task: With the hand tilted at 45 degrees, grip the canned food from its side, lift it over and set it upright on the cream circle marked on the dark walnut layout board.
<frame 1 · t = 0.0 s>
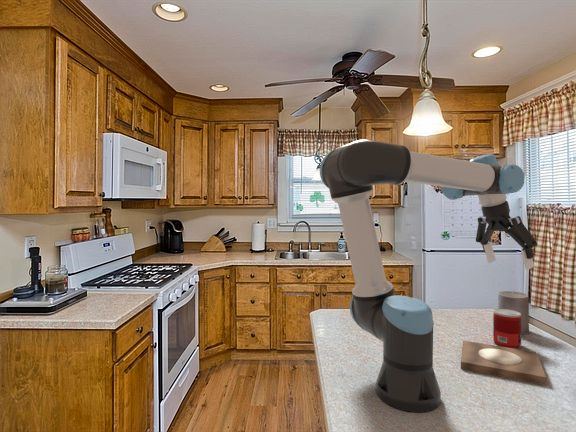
hand: (509, 264, 112), 28 cm above the countertop, tool tilted 20°, fingers open, 13 cm apart
pillar candle: (513, 330, 130), on the countertop
canned food: (506, 344, 117), on the countertop
layout board: (499, 363, 103), on the countertop
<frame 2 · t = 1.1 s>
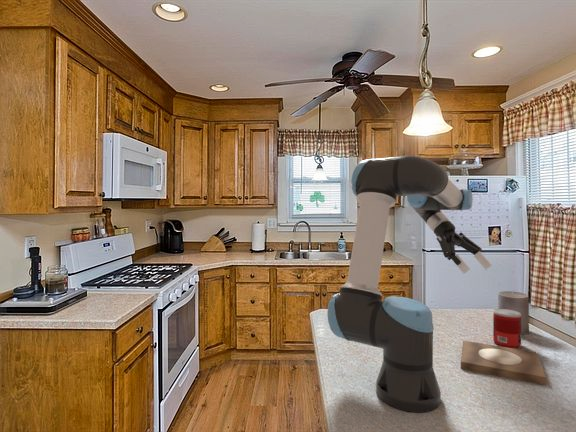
hand: (478, 269, 125), 24 cm above the countertop, tool tilted 45°, fingers open, 13 cm apart
nothing on the countertop moved.
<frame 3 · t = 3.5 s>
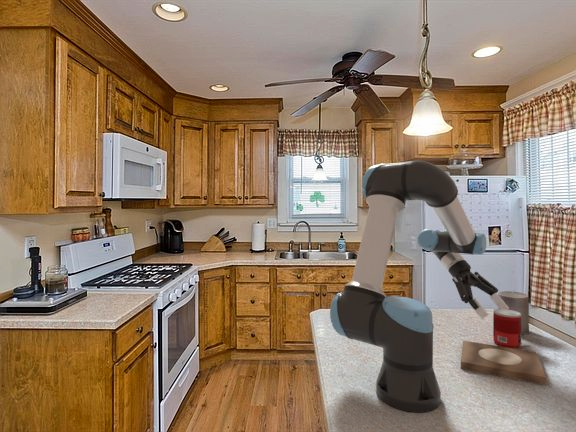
hand: (495, 313, 121), 9 cm above the countertop, tool tilted 45°, fingers open, 13 cm apart
nothing on the countertop moved.
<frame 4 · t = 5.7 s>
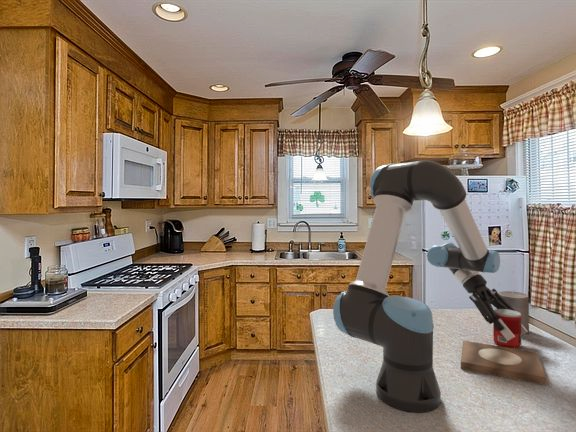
hand: (517, 336, 114), 4 cm above the countertop, tool tilted 45°, fingers closed on canned food, 8 cm apart
canned food: (507, 344, 117), on the countertop, touching gripper
everything else where it was.
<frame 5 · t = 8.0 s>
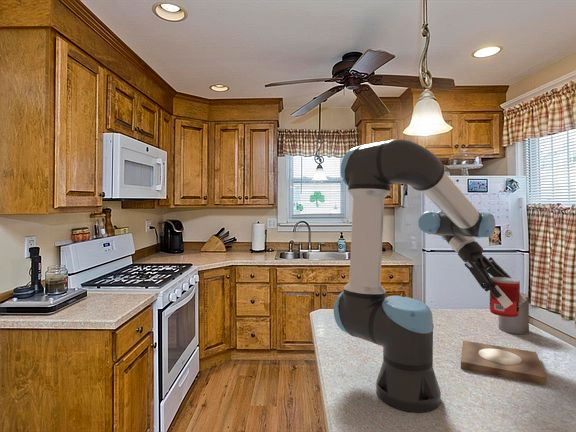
hand: (516, 304, 106), 17 cm above the countertop, tool tilted 45°, fingers closed on canned food, 8 cm apart
canned food: (504, 314, 109), point 13 cm above the countertop, touching gripper
everything else where it was.
when the fingers open (8 cm above the countertop, at t = 10.7 s): canned food drops 1 cm, resting on layout board.
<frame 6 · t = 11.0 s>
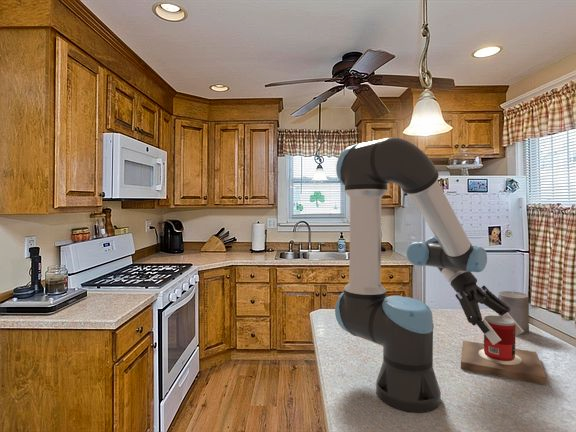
hand: (509, 338, 100), 8 cm above the countertop, tool tilted 45°, fingers open, 12 cm apart
canned food: (499, 356, 103), point 2 cm above the countertop, touching layout board
everything else where it was.
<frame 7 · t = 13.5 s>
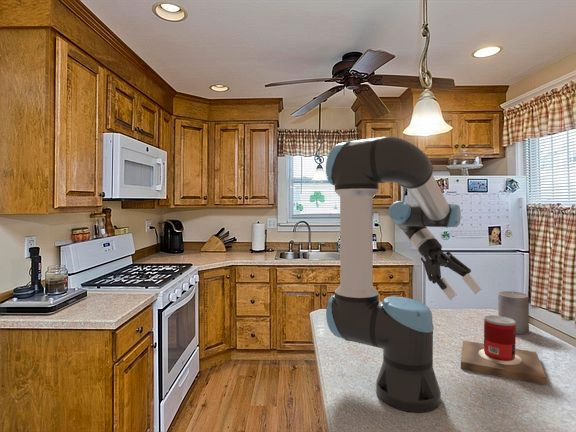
hand: (466, 294, 111), 18 cm above the countertop, tool tilted 45°, fingers open, 13 cm apart
nothing on the countertop moved.
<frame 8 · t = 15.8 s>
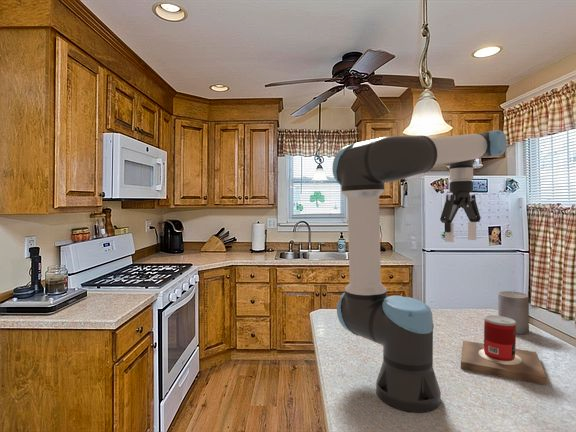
hand: (460, 240, 122), 35 cm above the countertop, tool pointing down, fingers open, 13 cm apart
nothing on the countertop moved.
at the end: canned food inside the target area on the layout board (0.1 cm from its centre), point 2.0 cm above the layout board's base; canned food tilted 1°; the gripper is holding nothing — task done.
